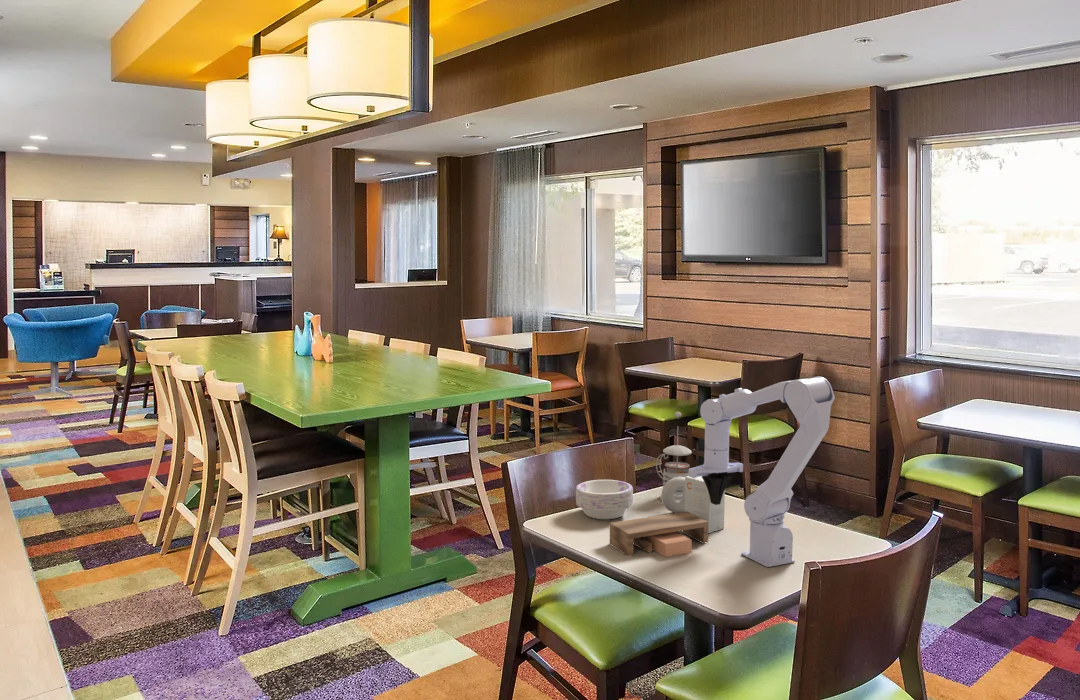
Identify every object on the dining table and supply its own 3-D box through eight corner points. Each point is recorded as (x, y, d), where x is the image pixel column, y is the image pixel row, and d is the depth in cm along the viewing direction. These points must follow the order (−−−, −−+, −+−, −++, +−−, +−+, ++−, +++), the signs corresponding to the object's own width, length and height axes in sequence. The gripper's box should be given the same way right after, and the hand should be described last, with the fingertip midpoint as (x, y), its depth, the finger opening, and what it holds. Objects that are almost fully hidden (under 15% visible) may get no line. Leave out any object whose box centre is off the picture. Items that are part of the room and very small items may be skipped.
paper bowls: (568, 509, 233) (568, 480, 232) (620, 504, 237) (621, 476, 236) (586, 525, 218) (586, 495, 217) (641, 521, 222) (641, 491, 221)
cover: (691, 552, 199) (691, 539, 198) (665, 556, 196) (665, 544, 195) (672, 541, 206) (672, 529, 206) (647, 545, 203) (647, 533, 203)
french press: (681, 505, 236) (682, 416, 233) (647, 497, 244) (648, 411, 241) (700, 498, 243) (702, 411, 240) (667, 490, 251) (668, 406, 248)
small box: (724, 528, 216) (725, 478, 214) (708, 534, 212) (709, 482, 210) (699, 521, 222) (700, 472, 221) (683, 526, 218) (684, 476, 217)
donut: (664, 516, 226) (664, 479, 225) (658, 512, 229) (659, 476, 228) (698, 513, 229) (699, 477, 228) (693, 509, 232) (693, 473, 231)
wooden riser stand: (707, 542, 205) (708, 521, 205) (628, 555, 196) (628, 533, 196) (686, 531, 213) (686, 511, 213) (609, 543, 204) (609, 522, 204)
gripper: (731, 442, 210) (729, 495, 212) (681, 447, 204) (680, 502, 206) (749, 448, 204) (747, 503, 205) (698, 453, 198) (697, 510, 199)
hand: (715, 503), depth 205 cm, fingers closed
